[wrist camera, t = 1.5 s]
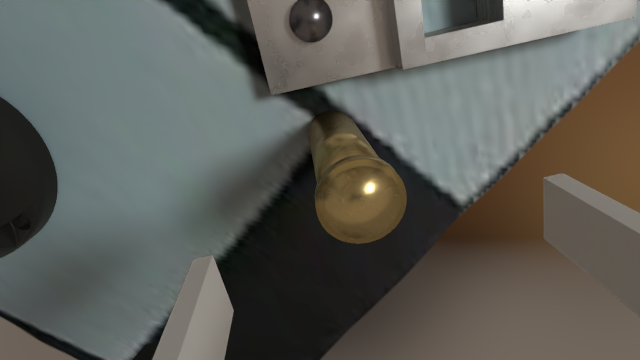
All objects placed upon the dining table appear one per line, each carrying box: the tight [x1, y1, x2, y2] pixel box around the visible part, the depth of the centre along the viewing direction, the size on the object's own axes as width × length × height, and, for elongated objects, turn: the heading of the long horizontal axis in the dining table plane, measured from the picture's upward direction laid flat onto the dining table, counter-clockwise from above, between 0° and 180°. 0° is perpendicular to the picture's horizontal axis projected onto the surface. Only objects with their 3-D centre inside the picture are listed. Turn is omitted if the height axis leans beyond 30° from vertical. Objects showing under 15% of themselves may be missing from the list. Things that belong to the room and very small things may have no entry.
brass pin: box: [309, 110, 407, 244], centre depth 26 cm, size 5×5×14 cm
